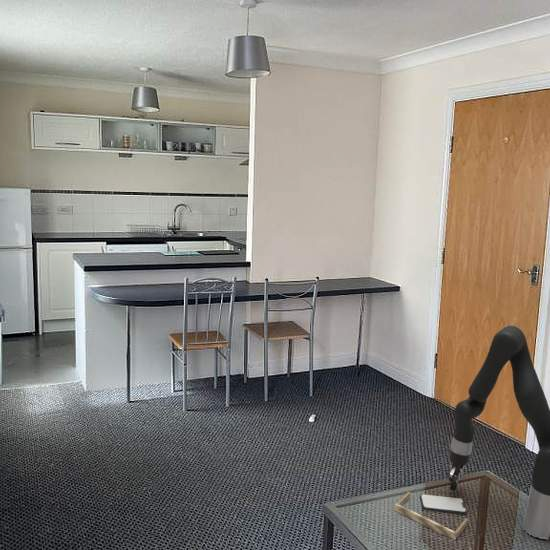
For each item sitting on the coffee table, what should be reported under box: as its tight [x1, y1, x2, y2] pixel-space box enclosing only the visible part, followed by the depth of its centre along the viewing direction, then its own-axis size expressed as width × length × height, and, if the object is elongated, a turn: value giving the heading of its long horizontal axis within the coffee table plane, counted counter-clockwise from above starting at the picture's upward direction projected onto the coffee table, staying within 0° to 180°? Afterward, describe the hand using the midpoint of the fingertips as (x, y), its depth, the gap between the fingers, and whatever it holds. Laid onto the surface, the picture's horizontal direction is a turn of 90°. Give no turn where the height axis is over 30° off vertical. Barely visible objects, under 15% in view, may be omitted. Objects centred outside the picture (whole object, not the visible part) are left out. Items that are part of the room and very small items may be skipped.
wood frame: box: [393, 491, 469, 541], centre depth 214 cm, size 23×11×2 cm, turn 53°
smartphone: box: [419, 493, 468, 516], centre depth 222 cm, size 9×2×16 cm
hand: (453, 489), depth 229 cm, fingers closed
